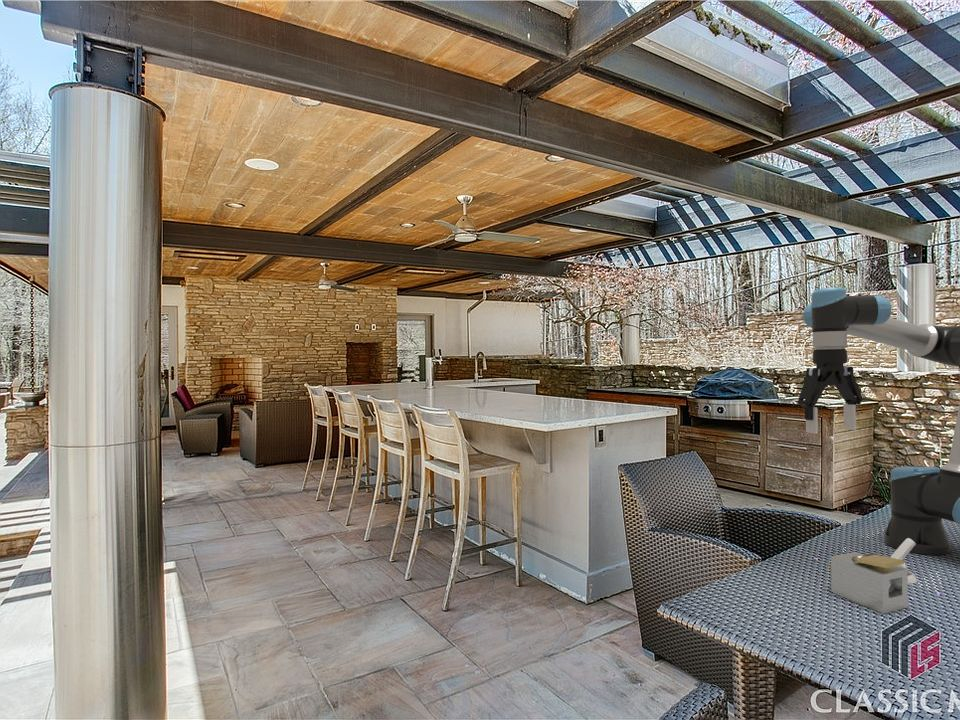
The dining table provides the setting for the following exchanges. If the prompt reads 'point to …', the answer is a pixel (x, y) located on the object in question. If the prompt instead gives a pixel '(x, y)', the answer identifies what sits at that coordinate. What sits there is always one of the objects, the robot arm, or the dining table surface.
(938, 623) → the dining table surface
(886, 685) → the dining table surface
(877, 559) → the plate
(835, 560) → the block
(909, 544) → the grey ring with handle
